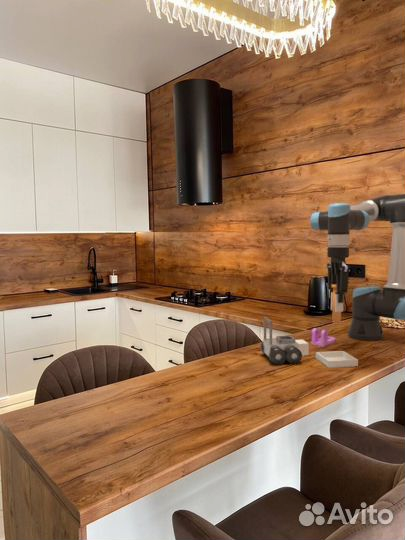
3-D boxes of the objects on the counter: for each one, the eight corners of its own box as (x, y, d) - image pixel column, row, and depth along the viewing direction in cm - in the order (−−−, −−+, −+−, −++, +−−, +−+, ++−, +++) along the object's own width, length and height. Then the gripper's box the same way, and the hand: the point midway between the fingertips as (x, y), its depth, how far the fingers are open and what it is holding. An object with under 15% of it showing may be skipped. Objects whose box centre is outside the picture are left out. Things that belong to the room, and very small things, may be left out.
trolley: (289, 352, 167) (289, 314, 165) (302, 363, 153) (302, 321, 151) (260, 354, 165) (260, 315, 164) (270, 365, 151) (270, 323, 150)
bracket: (323, 347, 175) (323, 330, 175) (311, 344, 179) (311, 328, 178) (337, 341, 185) (337, 325, 184) (325, 338, 188) (326, 323, 188)
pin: (339, 321, 155) (340, 284, 154) (344, 323, 151) (345, 285, 150) (329, 321, 154) (329, 284, 153) (333, 323, 150) (334, 285, 149)
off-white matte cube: (302, 351, 169) (302, 339, 169) (308, 355, 163) (308, 343, 163) (288, 352, 168) (288, 340, 168) (293, 356, 162) (293, 344, 162)
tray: (343, 357, 160) (343, 350, 160) (357, 366, 149) (358, 359, 149) (315, 358, 159) (315, 352, 159) (328, 368, 148) (328, 361, 148)
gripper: (319, 246, 158) (318, 307, 160) (338, 247, 142) (337, 315, 144) (338, 245, 158) (336, 306, 161) (359, 247, 143) (357, 314, 145)
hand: (336, 310), depth 152 cm, fingers closed on pin, 3 cm apart
